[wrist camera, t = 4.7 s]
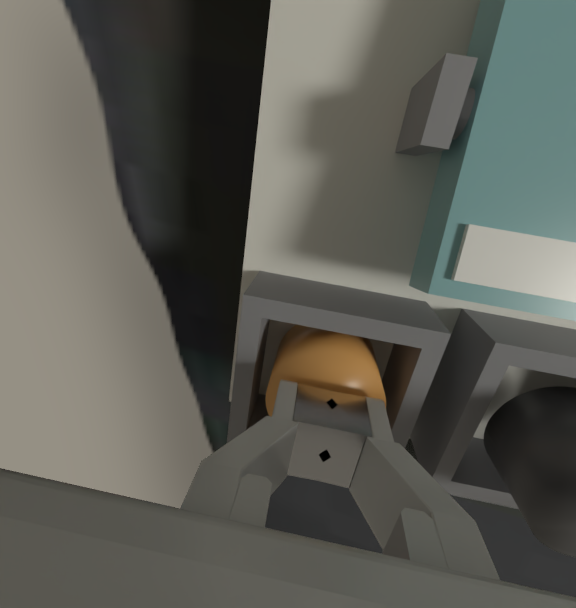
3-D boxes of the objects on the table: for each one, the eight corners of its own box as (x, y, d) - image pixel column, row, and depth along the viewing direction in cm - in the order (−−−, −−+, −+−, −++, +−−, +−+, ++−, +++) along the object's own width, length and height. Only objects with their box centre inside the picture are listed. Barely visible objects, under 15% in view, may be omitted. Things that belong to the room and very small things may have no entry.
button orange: (284, 307, 11) (274, 342, 9) (386, 327, 11) (401, 366, 9) (271, 390, 13) (258, 437, 10) (361, 408, 13) (369, 460, 10)
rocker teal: (487, -67, 7) (538, -158, 6) (692, -39, 7) (808, -126, 5) (401, 284, 9) (421, 293, 7) (567, 314, 8) (627, 331, 7)
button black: (512, 375, 9) (571, 440, 7) (638, 400, 9) (740, 474, 7) (466, 463, 11) (504, 541, 9) (575, 486, 11) (644, 572, 8)
